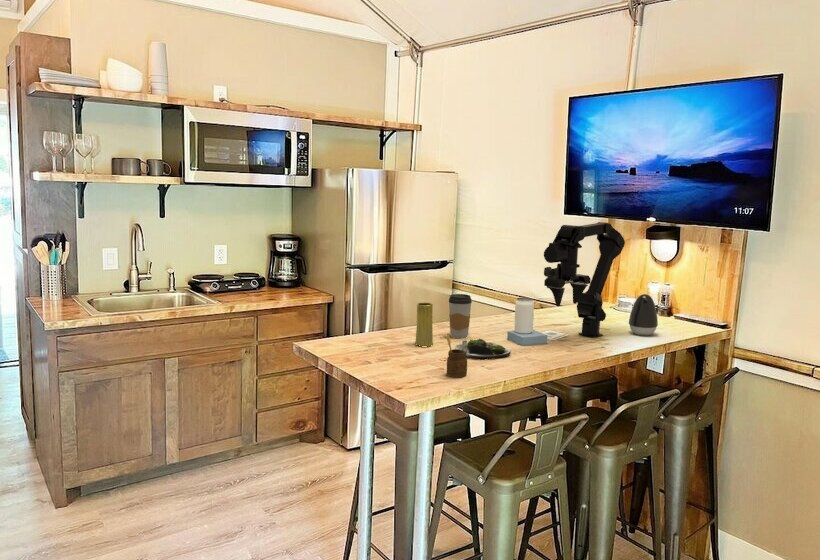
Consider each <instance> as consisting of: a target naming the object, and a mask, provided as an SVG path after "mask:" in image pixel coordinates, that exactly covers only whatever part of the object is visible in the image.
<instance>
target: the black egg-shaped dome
mask: <svg viewBox="0 0 820 560" xmlns="http://www.w3.org/2000/svg"><path fill="white" fill-rule="evenodd" d="M658 319H659V318H658V312H657V308H656V304H655V301H654V300H653V298H652V296H651V295H649V294H648V293H647V294H646V293H645V294H644V293H642V294H640V295H638V297H637V298H636V300H635V301H634V303H633V305H632V309H631V311H630V314H629V319H628V325H629V329H630V330H631V332H632V333H633V334H635V335H637V336H643V335H644V336H651V335H653V334H654V333H655V332H656V329H657V327H658V325H659V324H658V322H659V321H658Z"/></svg>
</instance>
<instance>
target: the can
mask: <svg viewBox="0 0 820 560" xmlns="http://www.w3.org/2000/svg"><path fill="white" fill-rule="evenodd" d="M534 312H535V303H534V298H531V297H517V298H516V301H515V306H514V328H513V329H514V330H513V331H515V332H516V333H520V334H530V333H532V332H533V330H534V317H535V315H534Z"/></svg>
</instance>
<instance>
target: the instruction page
mask: <svg viewBox="0 0 820 560" xmlns="http://www.w3.org/2000/svg"><path fill="white" fill-rule="evenodd" d="M541 333H543V334H545V335H547V341H556V340H560V339H561V338H564V337H565V338H566V337H568V336H570V334H568V333H563V332H558V331H553V330H546V331H541Z"/></svg>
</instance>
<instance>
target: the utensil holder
mask: <svg viewBox="0 0 820 560" xmlns="http://www.w3.org/2000/svg"><path fill="white" fill-rule="evenodd" d="M445 335H446V339H447V344H448V346H449V350H448V352H447V355H448V357H447V359H446V375H449V377H452V378H464V377H466V376H467V373H468V358H467V357H466V351H464V350H460V349H455V348H454V349H452V345H451V343H452V342H451V339H450V338H451V337H450V333H448V332H447V333H446V334H445ZM459 341H460V342H459V344H458V345H459V346H460V344H461V342H462V341H467V339H464V338H460V340H459ZM468 342H469V341H467V344H468ZM464 344H465V343H464ZM465 345H466V344H465ZM463 348H464V347H463ZM461 349H462V348H461ZM464 349H465V348H464Z"/></svg>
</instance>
